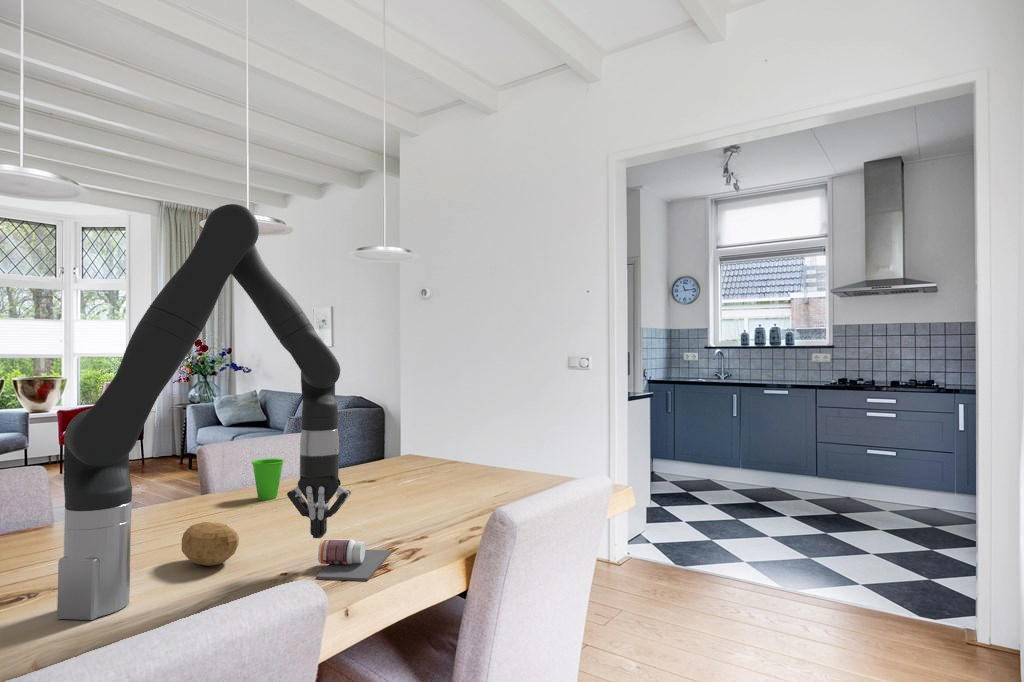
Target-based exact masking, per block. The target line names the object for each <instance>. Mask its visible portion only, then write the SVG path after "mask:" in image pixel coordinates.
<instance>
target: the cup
mask: <svg viewBox="0 0 1024 682" xmlns="http://www.w3.org/2000/svg"><path fill="white" fill-rule="evenodd" d="M284 462H285V460H284V458H275V457H274V458H261V459H255V460H251V464H252V467H253V473H254V481H255V487H256V494H257V495H256V496H257V498H258V500H259V501H271V500H275V499H277V497H278V493H279V487H280V481H281V476H282V469H283V467H284V466H283V465H284Z"/></svg>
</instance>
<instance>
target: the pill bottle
mask: <svg viewBox="0 0 1024 682" xmlns="http://www.w3.org/2000/svg"><path fill="white" fill-rule="evenodd" d="M365 550H366V542H365V541H356V540H354V539H348V538H347V539H345V538H342V539H339V538H336V539H335V538H331V539H330V538H323V539H322V540H321V541H320V543H319V546H318V551H317V561H318V563H319V564H321V565H329V564H348V565H349V564H352V563H353V562H355V563H362V562H363V560H364V556H365Z"/></svg>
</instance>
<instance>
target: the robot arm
mask: <svg viewBox="0 0 1024 682" xmlns="http://www.w3.org/2000/svg"><path fill="white" fill-rule="evenodd" d="M259 228H260V227H259V223H258V220H257V218H256V216H255V214H254V213H253V212H252V211H251V210H250V209H249V208H248V207H245V206H243V205H241V204H235V203H230V204H224V205H221V206H218V207H216V208H215V209H213V210H212V211H211V212H210V213H209V214H208V216H207V217H206V220H205V223H204V225H203V227H202V230H201V232H200V235H199V237H198V239H197V241H196V242H195V245H194V247H193V248H192V250H191V252H190V253H189V254H188V255H189V256H188V257H187V259H186V260H185V261H184V263H183V264H182V265H181V267H179V268H178V270H177V271H176V272H175V274H174V275H173V276H171V278H170V279H169V281H168V282H167V283H166V284H165V285H164V287H163V288H161V290H160V292H158V294H157V295H156V297H155V299H154V300H153V301H152V302H151V304H150V305H149V307H148V308H147V309H146V311H145V312H144V315H142V317H141V319H140V321H139V322H138V323H137V325H136V327H135V329H134V330H133V332H132V335H131V337H130V339H129V341H128V343H127V346H126V348H125V350H124V353H123V356H122V359H121V361H120V364H119V366H118V369H117V371H116V373H115V375H114V377H113V379H112V380H111V381H110V383H109V385H108V386H107V388H106V389H104V391H103V393H101V396H100V397H99V398H98V400H97V401H95V403H94V404H93V406H92V407H91V408H88V409H85V410H83V411H81V412H79V413H78V414H76V415H75V416H74V417H73V418H72V419H71V420H70V421H69V423H68V425H67V427H66V428H65V433H64V438H63V439H64V441H63V442H64V443H63V489H64V490H63V491H64V525H63V526H64V527H63V531H64V533H63V557H60V558H59V559H58V562H57V564H58V565H57V567H58V568H57V602H56V603H57V604H56V605H57V606H56V619H58V620H59V619H60V620H63V619H64V620H79V621H80V620H82V621H83V620H84V621H86V620H87V621H92V620H95V619H98V618H100V617H103V616H106V615H110V614H113V613H115V612H117V611H119V610H122V609H123V608H125V607H127V606H128V605H129V603H130V595H131V593H130V590H131V588H130V585H131V552H132V549H131V546H132V545H131V544H132V543H131V542H132V541H131V540H132V510H133V509H132V507H133V505H132V502H133V485H132V482H131V481H132V480H131V475H130V453H131V451H132V450H133V449H134V447H135V445H136V443H137V441H138V440H139V437H140V435H141V433H142V430H143V428H144V426H145V423H146V421H147V419H148V418H149V416H150V414H151V412H152V409H153V408H154V405H155V404H156V402H157V399H158V398H159V396H160V395H161V393H162V391H163V390H164V389H165V387H166V385H167V384H169V382H170V381H171V379H172V378H173V376H174V375H175V373H176V372H177V371H178V369H179V368H180V367H181V364H182V363H183V361H184V360H185V358H186V357H187V356H188V354H189V352H190V351H191V350H192V348H193V346H194V344H195V343H196V341H197V339H199V337H200V334H201V333H202V331H203V329H204V328H205V326H206V324H207V322H208V320H209V319H210V316H211V315H212V312H213V310H214V308H215V307H216V305H217V304H216V303H217V301H218V300H219V298H220V295H221V293H222V290H223V288H224V285H225V284H226V282H227V281H228V279H229V277H230V276H231V275H232V276H233V278H234V280H236V282H237V283H238V284H239V285H240V286H241V287H242V289H243V290H244V292H245V293H246V294H247V296H248V297H249V298H250V300H251V301H252V303H253V304H254V306H255V307H256V308H257V310H258V311H259V313H260V314H261V316H262V317H263V319H264V320H265V322H266V324H267V325H268V327H269V328H270V330H271V331H272V333H273V335H274V336H275V337H276V339H277V340H278V341H279V343H280V344H281V345H282V347H283V348H284V349H285V350H286V351H287V352H288V353H289V354H290V356H292V358H293V361H294V362H295V363H296V365H297V367H298V368H299V370H300V385H301V387H300V388H301V397H302V410H301V434H300V439H299V441H300V443H299V480H298V481H297V485H296V487H295V488H293V489H291V490H289V491H288V492H287V494H286V496H287V497H288V499H289V500H290V501H291V503H292V504H293V506H294V507H295V509H296V510H297V511H298V513H299V514H300V515H301V516H302V517H306V518H308V519H309V521H310V532H309V533H310V536H312V538H313V539H322V538H323V537H324V535H326V533H327V530H328V529H327V528H328V525H327V524H328V522H327V521H328V518H331V517H333V515H336V514H337V512H338V511H339V510H340V509H341V507H342V506H343V505H344V503H345V502H346V500H347V499H348V498H349V497H350V496H351V495H352V492H351V490H350V489H347V490H346V489H345V488H344V487H343V486H342V485H341V484H342V483H341V480H340V478H339V474H340V473H339V472H340V470H339V469H340V467H339V465H340V464H339V463H340V461H339V459H340V457H339V456H340V452H339V451H340V437H339V429H338V428H339V410H338V404H337V401H336V383H337V382H338V380H339V378H340V376H341V366H340V363H339V361H338V359H337V357H336V356H335V355H334V354H333V352H332V351H331V350H330V348H329V347H328V345H327V344H325V342H324V340H322V337H320V336H319V334H318V333H317V331H316V330H315V328H314V326H313V324H312V323H311V321H310V320H309V318H308V317H307V315H306V313H305V312H304V310H303V309H302V308H301V306H300V305H299V303H298V302H297V301H296V299H295V298H294V297H293V296H292V294H291V293H290V292H289V291H288V290H287V289H286V288H285V287H284V285H282V284H281V283H280V282H279V281H278V280H277V279H276V277H275V276H274V275H273V274H272V273H271V271H270V270H269V269H268V267H267V266H266V264H265V263H264V261H263V259H262V257H261V256H260V253H259V251H258V249H257V247H256V245H255V244H256V243H257V241H258V239H259V236H260V235H259V233H260V231H259V230H260V229H259ZM336 493H337V494H336ZM335 494H336V495H335ZM334 495H335V497H336V500H335V501H334V502H333V504H332V505H331V507H330V504H331V500H332V498H333V497H334ZM306 500H307V501H306ZM329 507H330V508H329Z"/></svg>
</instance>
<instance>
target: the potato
mask: <svg viewBox="0 0 1024 682" xmlns="http://www.w3.org/2000/svg"><path fill="white" fill-rule="evenodd" d="M181 537H182V538H181V551H182V554H183V555H185V557H186V558H187V559H188V560H189V561H190V562H191V563H194V564H197V565H202V566H206V567H207V566H209V567H210V566H211V567H212V566H213V567H214V566H217V565H220V564H223V563H225V562H227V560H229V558H231V557H232V556H234V555H235V554H236V551H237V549H238V548H239V547H238V546H239V540H240V538H239V535H238V533H237V531H236V530H235V529H234V528H232V527H231V526H229V525H227V524H225V523H221V522H210V521H202V522H199V523H195V524H193V525H190V526H189V527H188V528H187V529H186V530H185V531H184V532H183V534H182V536H181Z"/></svg>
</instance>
